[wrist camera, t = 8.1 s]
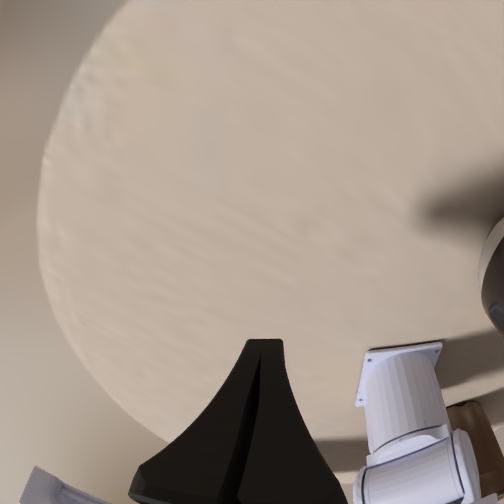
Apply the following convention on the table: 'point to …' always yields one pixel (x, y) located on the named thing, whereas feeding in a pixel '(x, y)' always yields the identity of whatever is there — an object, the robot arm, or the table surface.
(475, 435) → the plant pot
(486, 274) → the dark grey egg shape
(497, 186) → the table surface
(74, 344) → the table surface
